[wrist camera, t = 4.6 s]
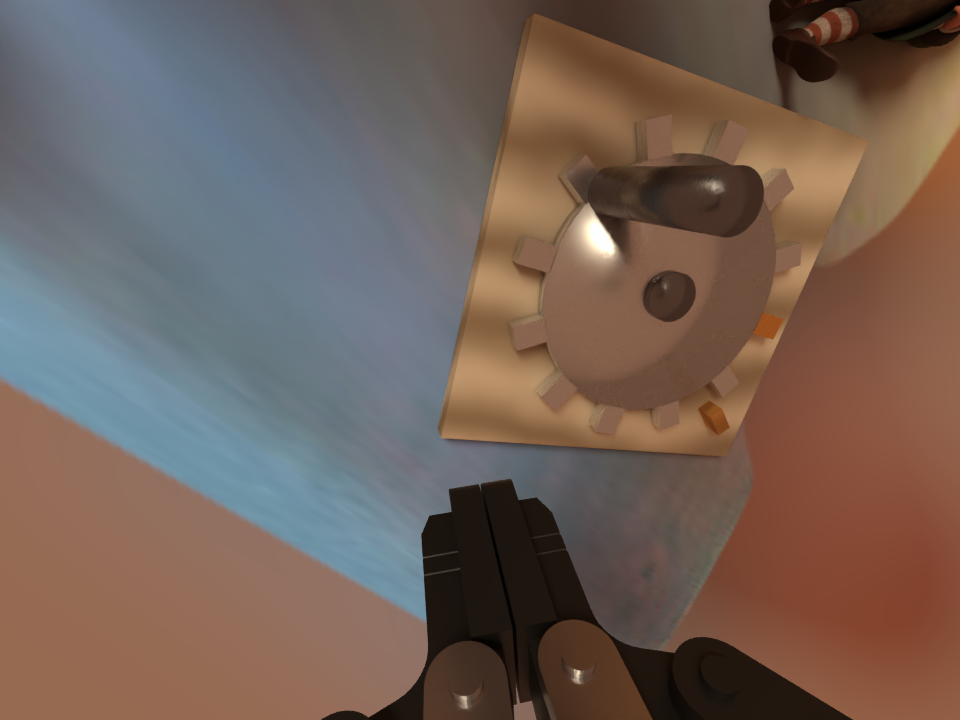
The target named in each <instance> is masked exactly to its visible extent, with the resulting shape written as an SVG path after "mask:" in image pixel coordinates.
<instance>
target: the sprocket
mask: <svg viewBox="0 0 960 720" xmlns="http://www.w3.org/2000/svg"><path fill="white" fill-rule="evenodd" d="M748 132H749V129H747V128H745V127H743V126H741V125H739V124H737V123H735V122H733V121H731V120H725V121H717V122H716V124H715V126H714V129H713V131H712V134H711V136H710V138H709V141H708V143H707V145H706V148H705V150H704V152H703V155H702V154H690V153H676V154H673V144H672V114H670V115H664V116H659V117H655V118H650V119H646V120H642V121H638V122H636V137H637V156H638V161H636V162H633V163H631V164H629V165H626V166H610V167H605V168H603V169H601V170H600V171H597V170H596V168H595V167H594V165H593V164H592V162H591V161H590V159H589V158H588V156H587V155H577V156H576V157H575V158H574V159H573V160H572V161H571V162H570V163H569V164H568V165H567V166H566V167H565V168H564V169H563V170H562V171H561V172H560V173H559V174H558V177H559V178H560V179H561V181H562V182H563V184H564V185H565V186H566V188H567V189H568V190H569V192H570V193H571V195H572V196H573V197H574V199H575V200H576V202H577V205H576V206H575V207H574V208H573V210H572V211H571V212H570V214H569V215H568V216H567V217H566V219H565V221H564V222H563V224H562V226H561V227H560V229H559V231H558V232H557V234H556V236H555V238H554V240H553V242H552V244H549V243H546V242H543V241H540V240H536V239H533V238H530V237H527V236H524V235H520V238H519V242H518V245H517V248H516V251H515V254H514V257H513V260H512V261H514V262H515V263H517V264H520V265H523V266H527V267H530V268H533V269H537V270H540V271H542V275H541V280H540V285H539V295H538V314H535V315H531V316H528V317H524V318H521V319H517V320H514V321H511V322H508V327H509V332H510V338H511V343H512V346H513V347H514V348H515V349H516V350H517V351H518V350H522V349H525V348H528V347H532V346H535V345H538V344H541V343H544V344H545V347H546V350H547V352H548V354H549V356H550V358H551V360H552V362H553V363H554V365H555V366H556V367H557V370H556V371H555V372H554V373H553V374H552V375H551V376H550V377H549V378H547V379H546V380H545V381H544V382H543V383H542V384H541V385H540V386H539V387H538V388H537V389H536V392H537V393H538V394H539V395H540V397H541V398H542V399H543V400H544V401H545V402H546V403H547V404H548V405H549V406H550V407H551V408H552V409H553V410H554V411H555V410H556V409H557V408H558V407H559V406H560V405H561V404H563V403H564V402H565V401H566V400H567V399H568V398H569V397H570V396H571V395H572V394H573V393H574V392H575V391H577V390H578V391H580V392H581V393H582V394H584V395H585V396H587V397H588V398H590V399H592V400H594V401H596V402H598V403H597V405H596V408H595V410H594V412H593V415H592V417H591V420H590V422H589V425H590V426H591V427H592V428H593V429H594V430H595V431H596V432H602V433H608V434H613V435H614V433H615V431H616V429H617V427H618V424H619V422H620V420H621V418H622V415H623V413H624V411H625V409H630V410H640V409H649V408H651V410H652V423H653V424H654V425H655V426H656V427H657V428H659V429H660V430H662V429H665V428H668V427H671V426H674V425H677V424H680V423H679V400H680V399H682V398H684V397H686V396H688V395H690V394H692V393H694V392H695V391H697V390H699V389H700V388H702V387H703V386H705V385H706V384H707V383H708V384H709V386H710V387H711V389H712V390H713V391H714V392H715V393H717V394H719V395H720V396H722V397H724V396H725V395H726V394H728V393H729V392H730V391H731V390H732V389H733V388H734V387H735V386H737V385H738V384H739V381H738V380H737V378H736V377H735V375H734V374H733V372H732V371H731V369H730V368H729V366H728V365H729V364H730V363H731V362H732V361H733V360H734V358H735V357H736V356H737V355H738V354H739V352H740V351H741V350H742V348H743V347H744V346H745V344H746V343H747V342H748V340H749V338H750V337H751V335H752V334H756V335H759V336H763V337H766V338H770V339H774V337H775V335H776V333H777V331H778V330H779V328H780V326H781V324H782V322H783V320H784V319H782V318H779V317H776V316H773V315H770V314H767V313H764V309H765V307H766V304H767V301H768V299H769V295H770V292H771V288H772V284H773V279H774V273H777V272H780V271H783V270H787V269H790V268H793V267H797V266H800V263H801V252H802V242H796V241H790V240H789V241H785V242H782V243H778V244H776V241H775V233H774V227H773V222H772V219H771V216H770V213H769V212H770V211H771V210H772V209H773V208H774V207H775V206H776V205H777V204H778V203H779V202H780V201H782V200H783V199H784V198H785V197H786V196H787V195H788V194H789V193H790V192H791V191H792V190H793V189H794V186H793V184H792V182H791V180H790V178H789V175H788V173H787V171H786V169H785V168H772V169H771V170H769V171H768V172H767V173H766V174H765V175H764V176H763V177H762V178H761V177H760V175H759V174H758V172H757V171H756V170H755V169H753V168H752V167H749V166H746V165H734V164H735V161H736V159H737V157H738V155H739V152H740V150H741V148H742V146H743V143H744V141H745V139H746V137H747V134H748Z"/></svg>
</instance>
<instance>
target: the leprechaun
mask: <svg viewBox="0 0 960 720" xmlns="http://www.w3.org/2000/svg"><path fill="white" fill-rule="evenodd" d="M819 1H824V0H771V2H770V5H769V10H770V20H771V21H772V22H773V23H777V22H780V21H781V20H783V19H785V18H787V17H789V16H790V15H791V14H792V13H795V12H796V11H798V10H799V9H800V8H801V7H802V6H803V5H805V4H809V3H814V2H819ZM869 33H872V34H873V35H874V36H876V37H878V38H880V39H883V40H888V41H903V40H908V41H909V43H910V44H911V45H912V46H914V47H918V48H927V47H930V46H942V45H945V44H947V43H949V42H950V41H952V40H953V39H954V38H955V37H957V36H958V35H959V34H960V0H858V1H856V2H850V3H847V4H846V5H845V6H844V7H840V8H834V9H832V10H830V11H828V12H826V13H824V14H823V15H822V16H820V17H819V18H817V19H816V20H814V21H813V22H812V23H810V24H809V25H807V26H806V27H805V28H803V29H802V28H795V29H789V30H786V31H783V32H782V33H779V34H777V35H776V36H775V38H774V40H773V51H774V53H775V55H776V56H777V57H778V58H779V59H780V60H781V61H783V62H784V63H786V64H789V65H791V66H792V67H793V68H794V69H795V70H796V72H797V74H798V75H799V77H800V78H802V79H803V80H805V81H808V82H820V81H824V80H827V79H829V78H831V77H832V76H833V75H834V74H835V73H836V71H837V70H838V68H839V66H840V59H839V58H838V57H837V56H836V55H834V54H832V53H830V52H828V51H826V50H825V49H823V48H821V47H820V46H819V45H825V44H830V43H835V42H839V41H842V40H845V39H848V40H850V41H853V40H855V39H857V38H859V37H860V36H863V35H865V34H869Z"/></svg>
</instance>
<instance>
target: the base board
mask: <svg viewBox="0 0 960 720" xmlns="http://www.w3.org/2000/svg"><path fill="white" fill-rule="evenodd" d="M670 114H672V144H673V154H676V153H690V154H702V155H703V152H704V150H705V148H706V145H707V143H708V141H709V138H710V136H711V134H712V131H713V129H714V126H715V124H716V122H717V121H725V120H731V121H733V122H735V123H737V124H739V125H741V126H743V127H745V128H747V129H749V132H748V134H747V137H746V139H745V141H744V143H743V146H742V148H741V150H740V152H739V155H738V157H737V159H736V161H735V164H734V165H746V166H749V167H752V168H753V169H755V170H756V171H757V172H758V174H759V175H760V177H761V178H762V177H763V176H764V175H765V174H766V173H767V172H768V171H769V170H771V169H772V168H785V169H786V171H787V173H788V175H789V178H790V180H791V182H792V184H793V186H794V189H793V190H792V191H791V192H790V193H789V194H788V195H787V196H786V197H785V198H784V199H783V200H782V201H780V202H779V203H778V204H777V205H776V206H775V207H774V208H773V209H772V210H771V211H770V212H769V213H770V216H771V219H772V222H773V227H774V233H775V241H776V244H778V243H782V242H785V241H789V240H790V241H796V242H802V252H801V263H800V266H797V267H793V268H790V269H787V270H783V271H780V272H777V273H774V279H773V284H772V288H771V292H770V295H769V299H768V301H767V304H766V307H765V309H764V313H767V314H770V315H773V316H776V317H779V318H782V319H784V320H783V322H782V324H781V326H780V328H779V330H778V331H777V333H776V335H775V337H774V339H770V338H766V337H763V336H759V335H756V334H752V335H751V337H750V338H749V340H748V342H747V343H746V344H745V346H744V347H743V348H742V350H741V351H740V352H739V354H738V355H737V356H736V357H735V358H734V360H733V361H732V362H731V363H730V364H729V365H728V366H729V368H730V369H731V371H732V372H733V374H734V375H735V377H736V378H737V380H738V381H739V384H738V385H737V386H735V387H734V388H733V389H732V390H731V391H730V392H729V393H728V394H726V395H725V396H724V397H722V396H720V395H719V394H717V393H715V392H714V391H713V390H712V389H711V387H710V386H709V384H708V383H707V384H706V385H705V386H703V387H702V388H700V389H699V390H697V391H695V392H694V393H692V394H690V395H688V396H686V397H684V398H682V399H680V400H679V423H680V424H677V425H674V426H671V427H668V428H665V429H662V430H660V429H659V428H657V427H656V426H655V425H654V424H653V423H652V410H651V408H649V409H640V410H630V409H625V411H624V413H623V415H622V418H621V420H620V422H619V424H618V427H617V429H616V431H615V433H614V435H613V434H608V433H602V432H596V431H595V430H594V429H593V428H592V427H591V426H590V425H589V422H590V420H591V417H592V415H593V412H594V410H595V408H596V405H597V403H598V402H596V401H594V400H592V399H590V398H588V397H587V396H585V395H584V394H582V393H581V392H580V391H578V390H577V391H575V392H574V393H573V394H572V395H571V396H570V397H569V398H568V399H567V400H566V401H565V402H564V403H563V404H561V405H560V406H559V407H558V408H557V409H556V410H555V411H554V410H553V409H552V408H551V407H550V406H549V405H548V404H547V403H546V402H545V401H544V400H543V399H542V398H541V397H540V395H539V394H538V393H537V392H536V389H537V388H538V387H539V386H540V385H541V384H542V383H543V382H544V381H545V380H546V379H547V378H549V377H550V376H551V375H552V374H553V373H554V372H555V371H556V370H557V367H556V366H555V365H554V363H553V362H552V360H551V358H550V356H549V354H548V352H547V350H546V347H545V344H544V343H541V344H538V345H535V346H532V347H528V348H525V349H522V350H518V351H517V350H516V349H515V348H514V347H513V346H512V343H511V338H510V332H509V327H508V322H511V321H514V320H517V319H521V318H524V317H528V316H531V315H535V314H538V295H539V285H540V280H541V275H542V271H540V270H537V269H533V268H530V267H527V266H523V265H520V264H517V263H515V262H514V261H512V260H513V257H514V254H515V251H516V248H517V245H518V242H519V238H520V235H524V236H527V237H530V238H533V239H536V240H540V241H543V242H546V243H549V244H552V242H553V240H554V238H555V236H556V234H557V232H558V231H559V229H560V227H561V226H562V224H563V222H564V221H565V219H566V217H567V216H568V215H569V214H570V212H571V211H572V210H573V208H574V207H575V206H576V205H577V202H576V200H575V199H574V197H573V196H572V195H571V193H570V192H569V190H568V189H567V188H566V186H565V185H564V184H563V182H562V181H561V179H560V178H559V177H558V174H559V173H560V172H561V171H562V170H563V169H564V168H565V167H566V166H567V165H568V164H569V163H570V162H571V161H572V160H573V159H574V158H575V157H576V156H577V155H587V156H588V158H589V159H590V161H591V162H592V164H593V165H594V167H595V168H596V170H597V171H600V170H601V169H603V168H605V167H610V166H626V165H629V164H631V163H633V162H636V161H638V156H637V137H636V122H638V121H642V120H646V119H650V118H655V117H659V116H664V115H670ZM868 143H869V141H868V140H865V139H863V138H860V137H858V136H855V135H852V134H850V133H847V132H844V131H842V130H839V129H837V128H834V127H831V126H829V125H826V124H824V123H821V122H818V121H816V120H813V119H810V118H808V117H805V116H803V115H800V114H797V113H795V112H792V111H790V110H787V109H784V108H782V107H779V106H776V105H774V104H771V103H769V102H766V101H763V100H761V99H758V98H755V97H753V96H750V95H748V94H745V93H742V92H740V91H737V90H735V89H732V88H729V87H727V86H724V85H721V84H719V83H716V82H714V81H711V80H708V79H706V78H703V77H701V76H698V75H695V74H693V73H690V72H687V71H685V70H682V69H680V68H677V67H674V66H672V65H669V64H666V63H664V62H661V61H659V60H656V59H653V58H651V57H648V56H646V55H643V54H640V53H638V52H635V51H632V50H630V49H627V48H625V47H622V46H619V45H617V44H614V43H612V42H609V41H606V40H604V39H601V38H598V37H596V36H593V35H591V34H588V33H585V32H583V31H580V30H577V29H575V28H572V27H570V26H567V25H564V24H562V23H559V22H557V21H554V20H551V19H549V18H546V17H543V16H541V15H538V14H536V13H534V14H533V15H531V16H530V17H529V18H528V19H527V20H526V21H525V25H524V30H523V34H522V39H521V44H520V48H519V53H518V58H517V62H516V67H515V72H514V76H513V81H512V85H511V90H510V95H509V99H508V104H507V109H506V113H505V118H504V123H503V127H502V132H501V137H500V141H499V146H498V151H497V155H496V160H495V165H494V169H493V174H492V178H491V183H490V188H489V192H488V197H487V202H486V206H485V211H484V216H483V220H482V225H481V230H480V234H479V239H478V244H477V248H476V253H475V258H474V262H473V267H472V272H471V276H470V281H469V285H468V290H467V295H466V299H465V304H464V309H463V313H462V318H461V323H460V327H459V332H458V337H457V341H456V346H455V351H454V355H453V360H452V365H451V369H450V374H449V378H448V383H447V388H446V392H445V397H444V402H443V406H442V411H441V416H440V420H439V425H438V430H439V433H440V436H441V438H450V439H465V440H480V441H495V442H511V443H526V444H541V445H557V446H572V447H587V448H603V449H618V450H633V451H649V452H664V453H679V454H694V455H710V456H725V457H726V456H727V454H728V452H729V449H730V447H731V445H732V443H733V441H734V438H735V436H736V434H737V432H738V430H739V427H740V425H741V423H742V421H743V419H744V416H745V414H746V412H747V410H748V407H749V405H750V403H751V401H752V398H753V396H754V394H755V392H756V390H757V387H758V385H759V383H760V381H761V379H762V377H763V374H764V372H765V370H766V368H767V366H768V363H769V361H770V359H771V357H772V355H773V352H774V350H775V348H776V346H777V343H778V341H779V339H780V337H781V335H782V332H783V330H784V328H785V326H786V324H787V321H788V319H789V317H790V315H791V313H792V310H793V308H794V306H795V304H796V302H797V299H798V297H799V295H800V293H801V291H802V288H803V286H804V284H805V281H806V279H807V277H808V275H809V273H810V271H811V268H812V266H813V264H814V262H815V260H816V257H817V255H818V253H819V251H820V249H821V246H822V244H823V242H824V240H825V238H826V235H827V233H828V231H829V229H830V227H831V224H832V222H833V220H834V218H835V216H836V213H837V211H838V209H839V207H840V204H841V202H842V200H843V198H844V196H845V193H846V191H847V189H848V187H849V185H850V182H851V180H852V178H853V176H854V174H855V171H856V169H857V167H858V165H859V163H860V160H861V158H862V156H863V154H864V152H865V149H866V147H867V145H868Z"/></svg>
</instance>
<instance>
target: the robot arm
mask: <svg viewBox="0 0 960 720" xmlns="http://www.w3.org/2000/svg"><path fill="white" fill-rule="evenodd" d="M449 495H450V503H451V511H452V512H449V513H443V514H437V515H431V516H429V518H428V520H427V523H426V525H425V528H424V530H423V532H422V535H421V537H422V553H423V569H424V585H425V601H426V617H427V633H428V655H427V661H426V664H425V667H424V669H423V671H422V673H421V676H420V677H419V679H418V680H417V682H416V683H415V684H414V685H413V687H412V688H411V689H410V690H409V691H408V692H407V693H406V694H405V695H404V696H402V697H401V698H399V699H398V700H397V701H395V702H393V703H392V704H390V705H388V706H387V707H385V708H383V709H382V710H380V711H379V712H377V713H376V714H374V715H372V716H370V717H369V718H368V717H367V716H365V715H363V714H362V713H359V712H355V711H340V712H336V713H333V714H331V715H329V716H327V717H325V718H323V719H322V720H514V706H513V705H515V704H517V701H516V687H517V691H518V696H519V700H520V703H523V702H528V701H532V702H533V706H534V710H535V714H536V719H537V720H852V719H851V718H849V717H847V716H846V715H844V714H842V713H841V712H839V711H837V710H836V709H834V708H833V707H831V706H829V705H828V704H826V703H824V702H823V701H821V700H819V699H818V698H816V697H814V696H813V695H811V694H810V693H808V692H806V691H805V690H803V689H801V688H800V687H798V686H797V685H795V684H793V683H792V682H790V681H788V680H787V679H785V678H783V677H782V676H780V675H778V674H777V673H775V672H774V671H772V670H770V669H769V668H767V667H765V666H764V665H762V664H761V663H759V662H757V661H756V660H754V659H752V658H751V657H749V656H747V655H746V654H744V653H742V652H741V651H739V650H738V649H736V648H734V647H733V646H731V645H729V644H727V643H725V642H722V641H720V640H717V639H713V638H707V637H699V638H698V637H697V638H692V639H689V640H687V641H685V642H684V643H682V644H681V645H680V646H679V647H678V649H677V650H676V652H675V653H670V652H664V651H657V650H650V649H643V648H637V647H633V646H630V645H627V644H625V643H623V642H621V641H619V640H617V639H615V638H614V637H612V636H611V635H610V634H609V633H607V632H606V631H605V630H604V629H603V628H602V627H601V626H600V624H599V623H598V622H597V620H596V619H595V617H594V615H593V613H592V611H591V608H590V606H589V603H588V601H587V599H586V596H585V594H584V591H583V589H582V586H581V584H580V581H579V579H578V576H577V574H576V571H575V569H574V566H573V564H572V561H571V559H570V556H569V554H568V551H566V547H565V544H564V542H563V539H562V537H561V535H560V533H559V529H558V527H557V524H556V522H555V519H554V517H553V514H552V512H551V511H550V510H549V509H548V508H547V507H546V506H545V505H544V504H543V503H542V502H541V501H540V500H539V499H538V498H537V497H536V498H530V499H525V500H518V497H517V494H516V491H515V488H514V485H513V482H512V480H511V479H506V480H500V481H494V482H488V483H482V484H481V491H480V487H479V484H477V485H471V486H465V487H459V488H452V489H449Z"/></svg>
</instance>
